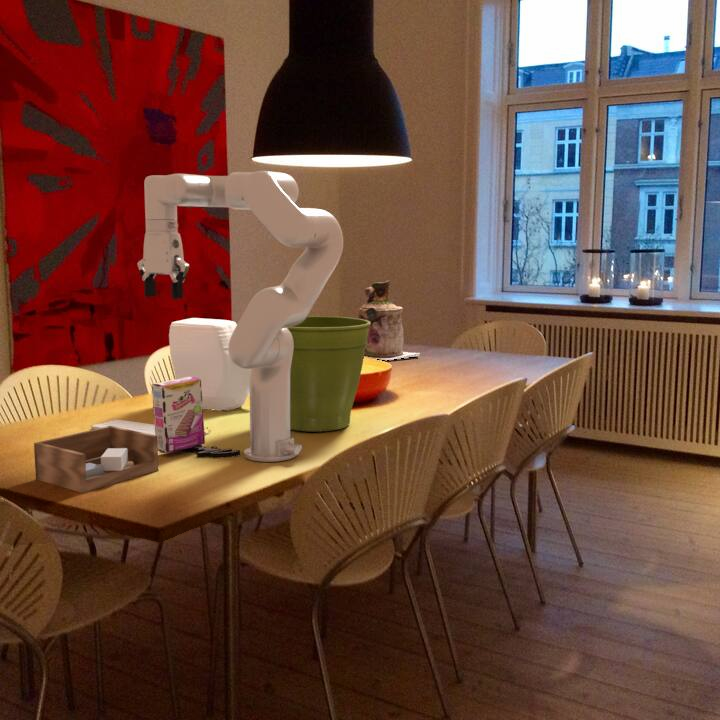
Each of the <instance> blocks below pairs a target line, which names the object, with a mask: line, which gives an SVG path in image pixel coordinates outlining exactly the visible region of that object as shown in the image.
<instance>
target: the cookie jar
mask: <svg viewBox="0 0 720 720" xmlns="http://www.w3.org/2000/svg"><path fill="white" fill-rule="evenodd" d="M390 285H391V282H390V280H386V281H385V282H384V281H383V282H378V281H375V282H374V283H372V284H371V286H369V287H366V288H365V289H364V293H365V296H366V297H367V298H368V299H367V302H366V303H364V304H363V305H362V307H360V308H359V309H358V311H357V313H358V315H357V319H363V320H367V321H370V326H369V327H368V336H367V344H366V346H365V353H364V356H368V357H372V358H376V359H381V360H385V361H384V362H388V361H387V360H389V361H394V359H397V360H402V359H401V358H404V359H410V358H409V357H416V356H418V357H419V356H420V352H408V351H403V345H404V326H403V321H402V313H403V309H404V308H403V307H402V306H397V305H396V304H394V303H393V302H392V301H390V300H389V298H388V297H389V295H390V293H391V291H390Z"/></svg>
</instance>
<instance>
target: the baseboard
mask: <svg viewBox="0 0 720 720" xmlns="http://www.w3.org/2000/svg"><path fill="white" fill-rule="evenodd" d="M107 426H114V427H119V428H123V429H128V430H133V431H137V432H142V433H147V434H151V435H155V424H154V423H153V424H152V423H145V422H137V421H131V420H125V419H124V420H123V419H116V418H115V419H113V420H108V421H105V422H101V423H97V424H94V425H90V429H91V428H93V429H98V428H103V427H107ZM93 429H92V430H93ZM205 429H206V430H209V432H211V429H209V427H206V428H205ZM209 432H206V431H204V435H205V436H207V435H206V434H208V435H209Z"/></svg>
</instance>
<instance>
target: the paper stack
mask: <svg viewBox="0 0 720 720" xmlns="http://www.w3.org/2000/svg"><path fill="white" fill-rule="evenodd" d="M237 324H238V323H236V322H235V321H232V320H229V319H228V320H227V319H215V318H200V317H191V318H190V317H189V318H185V319H181V320H176V321H172V322H171V324H170V325H169V333H168V339H169V340H168V342H169V354H170V360H171V365H172V368H173V371H174V372H173V373H174V380H175V379H180V378H186V377H194V378H199V379H201V389H202V404H203V409H214V410H227V411H233V410H235V409H238V408H241V407H242V406H244V405H245V403H246V402H247V398H248V396H249V395H250V375H251V370H252V369H244V368H241V367H239V366H237V365H236V364H235V363H234V362H233V361H232V359H231V357H230V355H229V341H230V338H231V335H232V333H233V331H234V329H235V328H236V326H237Z"/></svg>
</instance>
